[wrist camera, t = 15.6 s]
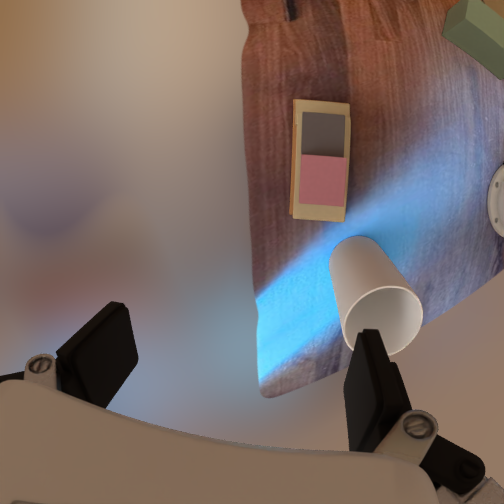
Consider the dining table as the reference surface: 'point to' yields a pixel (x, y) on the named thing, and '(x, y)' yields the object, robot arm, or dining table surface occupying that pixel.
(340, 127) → the grey and pink l-bracket
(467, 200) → the dining table surface
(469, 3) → the rectangular block
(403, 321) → the cup
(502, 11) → the plant saucer
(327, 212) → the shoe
